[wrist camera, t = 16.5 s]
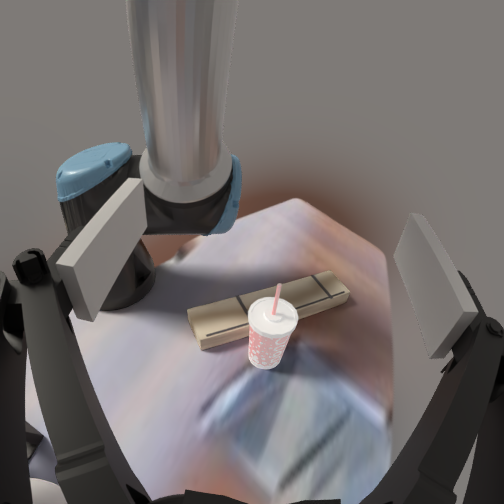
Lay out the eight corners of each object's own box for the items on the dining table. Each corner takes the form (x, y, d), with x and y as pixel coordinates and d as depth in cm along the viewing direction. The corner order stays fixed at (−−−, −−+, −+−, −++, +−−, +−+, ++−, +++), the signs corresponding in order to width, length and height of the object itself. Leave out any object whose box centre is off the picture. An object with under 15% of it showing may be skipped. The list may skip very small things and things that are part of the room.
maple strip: (188, 320, 47) (187, 308, 46) (327, 280, 57) (330, 269, 56) (201, 350, 43) (200, 339, 41) (346, 302, 53) (350, 291, 51)
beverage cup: (249, 378, 40) (261, 309, 32) (238, 343, 45) (245, 269, 36) (292, 368, 42) (315, 299, 33) (277, 335, 46) (294, 263, 38)
